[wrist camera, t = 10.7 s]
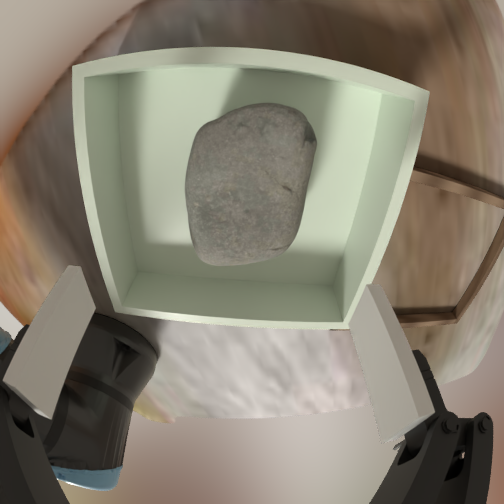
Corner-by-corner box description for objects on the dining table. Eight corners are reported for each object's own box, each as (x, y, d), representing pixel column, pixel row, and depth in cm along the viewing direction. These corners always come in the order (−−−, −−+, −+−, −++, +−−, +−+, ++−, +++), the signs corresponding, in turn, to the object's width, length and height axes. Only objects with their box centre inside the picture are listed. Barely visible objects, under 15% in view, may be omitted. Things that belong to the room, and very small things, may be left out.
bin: (133, 273, 28) (115, 312, 23) (112, 65, 16) (72, 66, 11) (336, 287, 29) (349, 329, 24) (390, 85, 17) (429, 91, 12)
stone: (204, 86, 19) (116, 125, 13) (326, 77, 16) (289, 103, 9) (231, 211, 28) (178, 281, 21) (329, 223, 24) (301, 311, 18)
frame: (327, 320, 32) (329, 330, 31) (381, 158, 20) (388, 163, 19) (453, 316, 33) (456, 323, 32) (513, 201, 21) (520, 207, 20)
